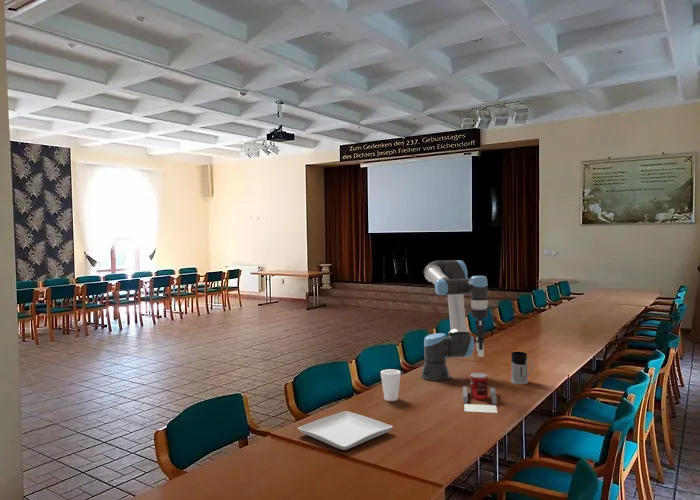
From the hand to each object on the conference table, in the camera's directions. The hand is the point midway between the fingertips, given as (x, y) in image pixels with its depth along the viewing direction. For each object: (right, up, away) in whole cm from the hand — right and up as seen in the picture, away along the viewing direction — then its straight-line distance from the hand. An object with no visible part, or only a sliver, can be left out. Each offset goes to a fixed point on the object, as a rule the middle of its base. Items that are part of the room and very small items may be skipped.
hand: (480, 353), depth 248 cm
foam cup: (-42, -22, +1) cm, 48 cm away
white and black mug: (+28, -20, +23) cm, 41 cm away
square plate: (-64, -24, -43) cm, 80 cm away
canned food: (0, -21, 0) cm, 21 cm away
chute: (-2, -21, -7) cm, 22 cm away
